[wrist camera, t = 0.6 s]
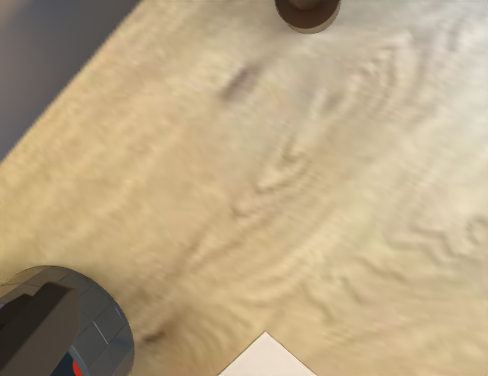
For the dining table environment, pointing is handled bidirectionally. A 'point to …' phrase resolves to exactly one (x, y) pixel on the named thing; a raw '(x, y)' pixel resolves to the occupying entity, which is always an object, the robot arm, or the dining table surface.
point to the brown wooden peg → (308, 14)
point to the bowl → (83, 322)
